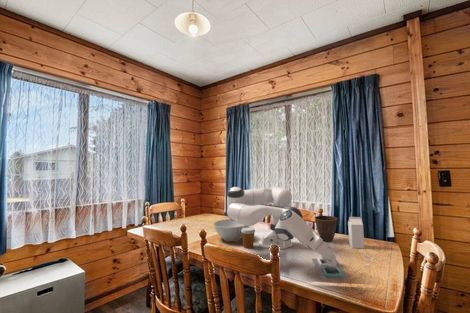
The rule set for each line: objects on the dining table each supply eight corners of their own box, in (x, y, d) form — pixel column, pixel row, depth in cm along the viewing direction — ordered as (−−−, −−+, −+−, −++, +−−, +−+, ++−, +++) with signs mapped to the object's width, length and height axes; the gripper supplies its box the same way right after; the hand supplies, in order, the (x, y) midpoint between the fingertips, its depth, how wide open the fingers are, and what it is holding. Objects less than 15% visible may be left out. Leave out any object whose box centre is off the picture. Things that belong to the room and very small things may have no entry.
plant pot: (335, 245, 153) (334, 221, 154) (312, 241, 162) (311, 218, 163) (340, 239, 165) (339, 217, 166) (319, 236, 174) (318, 214, 175)
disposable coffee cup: (247, 243, 162) (246, 226, 162) (258, 246, 156) (257, 228, 156) (238, 247, 154) (238, 229, 155) (250, 250, 148) (249, 231, 149)
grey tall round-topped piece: (322, 265, 120) (322, 249, 121) (321, 261, 125) (320, 246, 125) (332, 265, 120) (331, 249, 120) (329, 261, 124) (329, 246, 124)
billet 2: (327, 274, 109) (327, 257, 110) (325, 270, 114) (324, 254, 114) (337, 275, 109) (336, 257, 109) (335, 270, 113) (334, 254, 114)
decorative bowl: (250, 244, 159) (250, 227, 160) (212, 245, 160) (211, 227, 160) (249, 233, 186) (248, 218, 187) (216, 234, 186) (215, 219, 187)
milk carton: (364, 248, 146) (362, 218, 147) (352, 248, 147) (350, 218, 148) (360, 244, 153) (359, 216, 154) (349, 244, 154) (347, 215, 155)
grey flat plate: (320, 281, 106) (320, 275, 106) (311, 261, 129) (311, 256, 129) (350, 282, 104) (350, 277, 104) (336, 262, 127) (336, 257, 127)
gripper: (296, 235, 121) (315, 253, 121) (312, 249, 101) (335, 271, 101) (304, 226, 121) (323, 244, 122) (322, 238, 101) (344, 260, 101)
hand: (329, 257), depth 111 cm, fingers open, 8 cm apart
